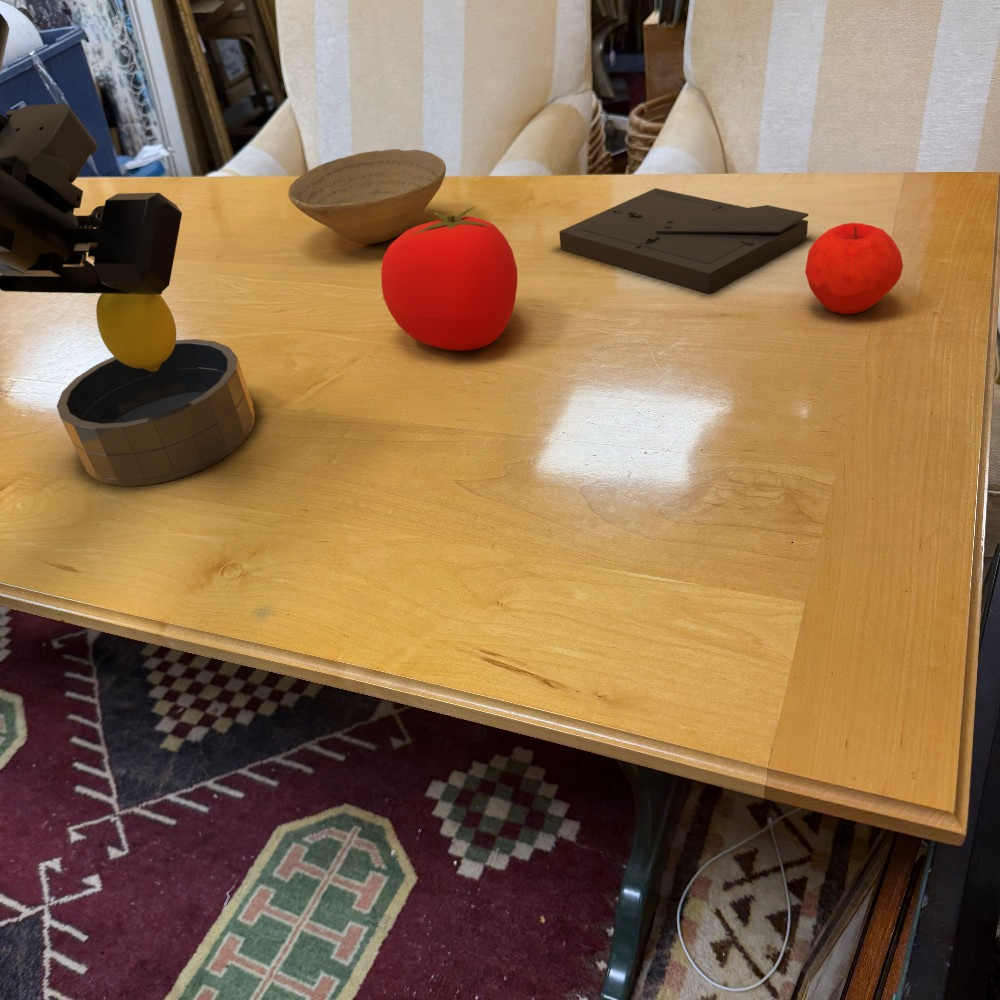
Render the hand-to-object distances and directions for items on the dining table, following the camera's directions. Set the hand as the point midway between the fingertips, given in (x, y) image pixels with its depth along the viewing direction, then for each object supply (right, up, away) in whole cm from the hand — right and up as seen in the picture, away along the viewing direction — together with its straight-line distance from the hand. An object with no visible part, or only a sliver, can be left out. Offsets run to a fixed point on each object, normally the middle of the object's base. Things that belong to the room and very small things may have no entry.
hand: (135, 287), depth 70 cm
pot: (0, -11, +8) cm, 13 cm away
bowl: (+13, +15, +41) cm, 46 cm away
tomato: (+25, -1, +16) cm, 30 cm away
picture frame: (+48, +11, +28) cm, 56 cm away
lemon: (0, -6, +3) cm, 7 cm away
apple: (+60, +1, +12) cm, 61 cm away
